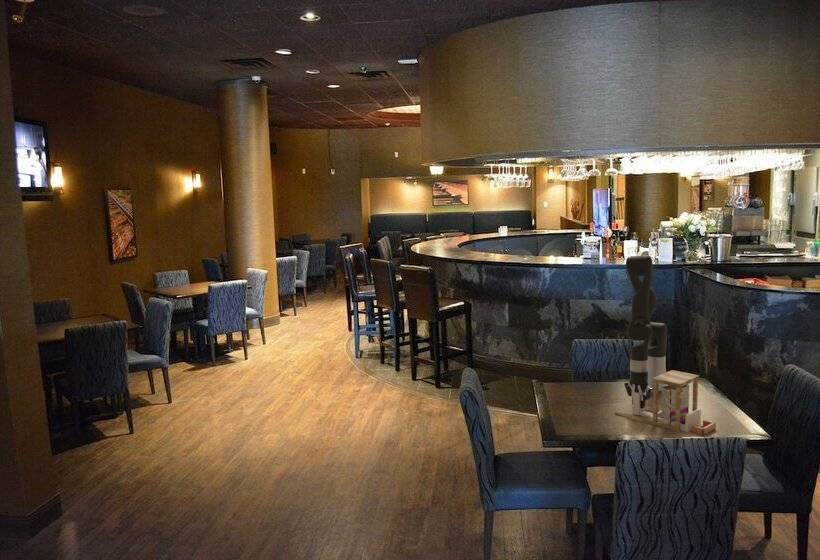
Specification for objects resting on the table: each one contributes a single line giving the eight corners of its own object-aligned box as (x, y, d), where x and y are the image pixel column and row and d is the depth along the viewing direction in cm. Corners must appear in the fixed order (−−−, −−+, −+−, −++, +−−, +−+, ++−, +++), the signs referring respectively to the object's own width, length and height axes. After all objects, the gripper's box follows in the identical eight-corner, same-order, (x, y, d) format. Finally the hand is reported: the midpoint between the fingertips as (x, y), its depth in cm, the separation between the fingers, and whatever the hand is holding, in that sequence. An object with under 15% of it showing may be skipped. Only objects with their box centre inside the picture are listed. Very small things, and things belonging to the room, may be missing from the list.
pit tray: (703, 426, 282) (703, 419, 281) (715, 429, 278) (715, 422, 278) (691, 433, 276) (691, 425, 275) (703, 436, 272) (703, 429, 271)
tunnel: (634, 405, 310) (635, 362, 307) (697, 422, 287) (699, 375, 284) (614, 414, 299) (614, 369, 296) (678, 432, 277) (679, 384, 274)
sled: (642, 409, 304) (642, 388, 302) (700, 424, 283) (701, 401, 282) (628, 415, 297) (628, 393, 295) (687, 431, 276) (688, 408, 275)
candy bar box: (679, 418, 291) (680, 381, 289) (688, 422, 287) (689, 384, 284) (660, 423, 286) (661, 386, 283) (670, 427, 282) (670, 389, 279)
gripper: (658, 370, 293) (657, 408, 296) (629, 364, 304) (629, 401, 307) (649, 374, 288) (648, 412, 291) (620, 367, 299) (619, 405, 302)
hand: (638, 406), depth 299 cm, fingers closed on sled, 3 cm apart
